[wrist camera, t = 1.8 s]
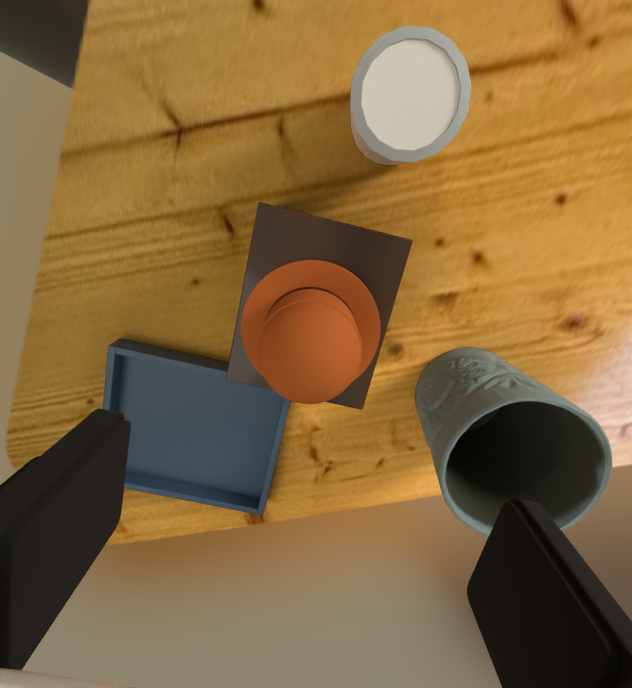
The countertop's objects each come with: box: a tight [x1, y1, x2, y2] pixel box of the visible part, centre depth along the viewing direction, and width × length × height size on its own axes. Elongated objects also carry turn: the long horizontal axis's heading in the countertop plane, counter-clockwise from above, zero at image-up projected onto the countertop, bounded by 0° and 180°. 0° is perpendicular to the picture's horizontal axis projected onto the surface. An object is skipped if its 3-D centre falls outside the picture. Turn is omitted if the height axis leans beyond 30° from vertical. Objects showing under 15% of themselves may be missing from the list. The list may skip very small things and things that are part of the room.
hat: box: [241, 260, 380, 404], centre depth 22 cm, size 8×8×7 cm
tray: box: [103, 339, 291, 515], centre depth 36 cm, size 15×13×2 cm
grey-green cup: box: [415, 348, 612, 537], centre depth 30 cm, size 10×10×12 cm
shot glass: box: [350, 25, 472, 165], centre depth 26 cm, size 7×7×7 cm
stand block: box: [226, 202, 412, 410], centre depth 29 cm, size 9×11×9 cm
